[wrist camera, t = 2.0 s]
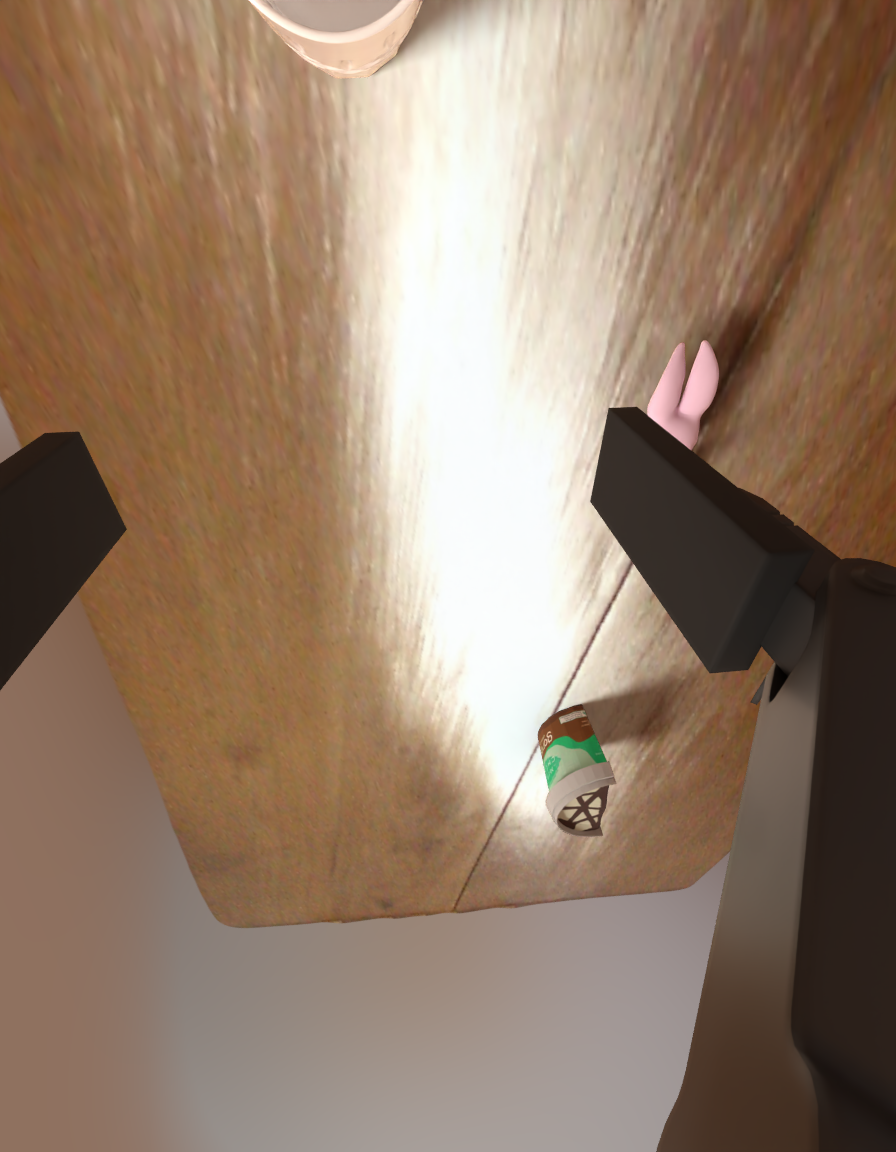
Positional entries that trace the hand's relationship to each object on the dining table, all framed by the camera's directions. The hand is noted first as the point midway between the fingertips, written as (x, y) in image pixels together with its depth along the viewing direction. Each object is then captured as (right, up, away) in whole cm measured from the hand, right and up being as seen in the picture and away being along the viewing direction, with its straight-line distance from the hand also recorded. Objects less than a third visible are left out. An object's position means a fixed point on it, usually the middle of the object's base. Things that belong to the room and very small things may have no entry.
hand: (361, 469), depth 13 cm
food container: (+15, -21, +45) cm, 52 cm away
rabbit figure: (+17, +7, +23) cm, 30 cm away
